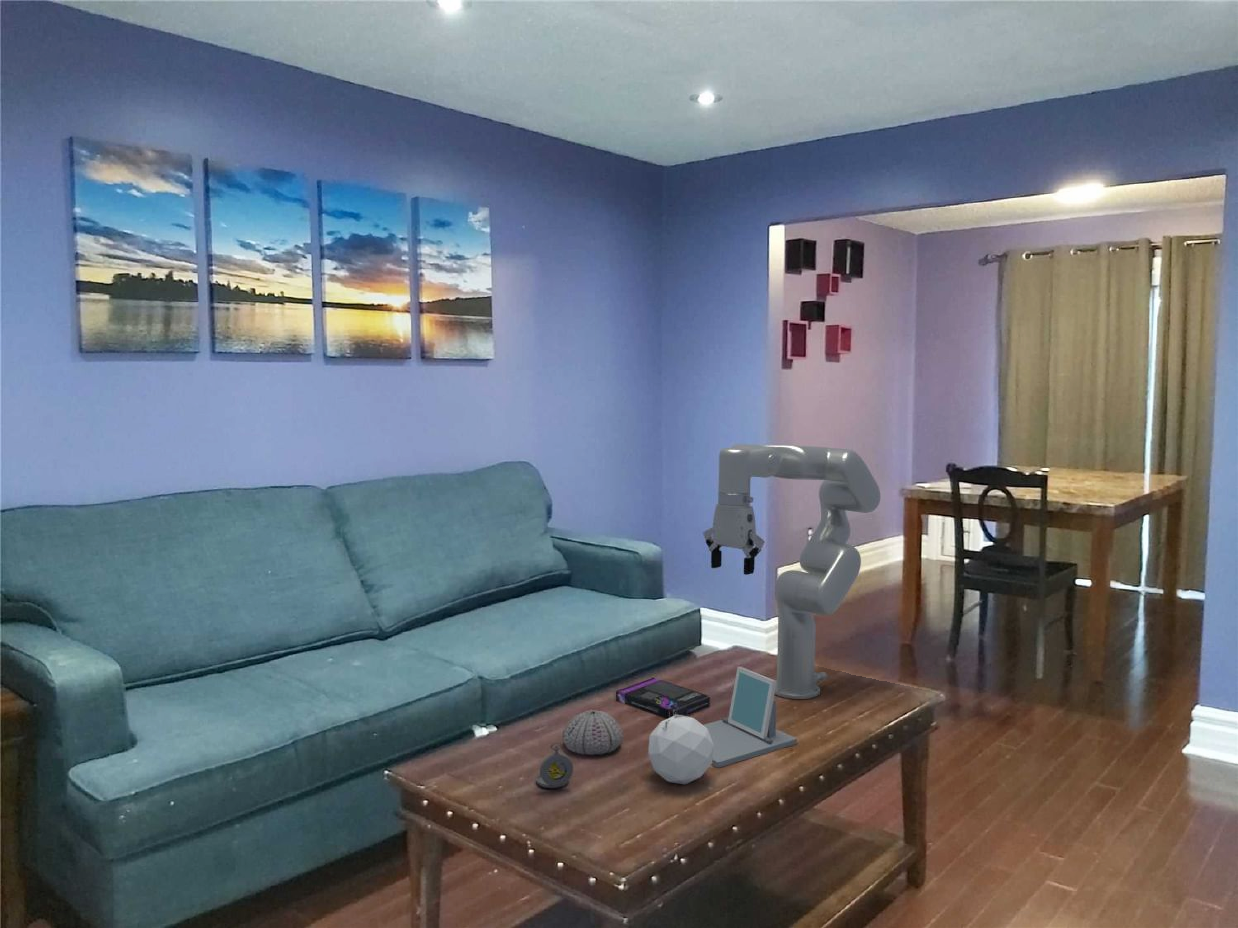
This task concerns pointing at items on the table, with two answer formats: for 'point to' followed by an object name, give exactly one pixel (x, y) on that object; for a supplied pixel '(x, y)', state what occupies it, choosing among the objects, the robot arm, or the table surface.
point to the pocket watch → (555, 769)
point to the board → (744, 741)
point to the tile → (752, 702)
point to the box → (663, 698)
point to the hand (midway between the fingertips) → (732, 570)
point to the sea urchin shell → (592, 733)
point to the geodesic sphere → (680, 749)
